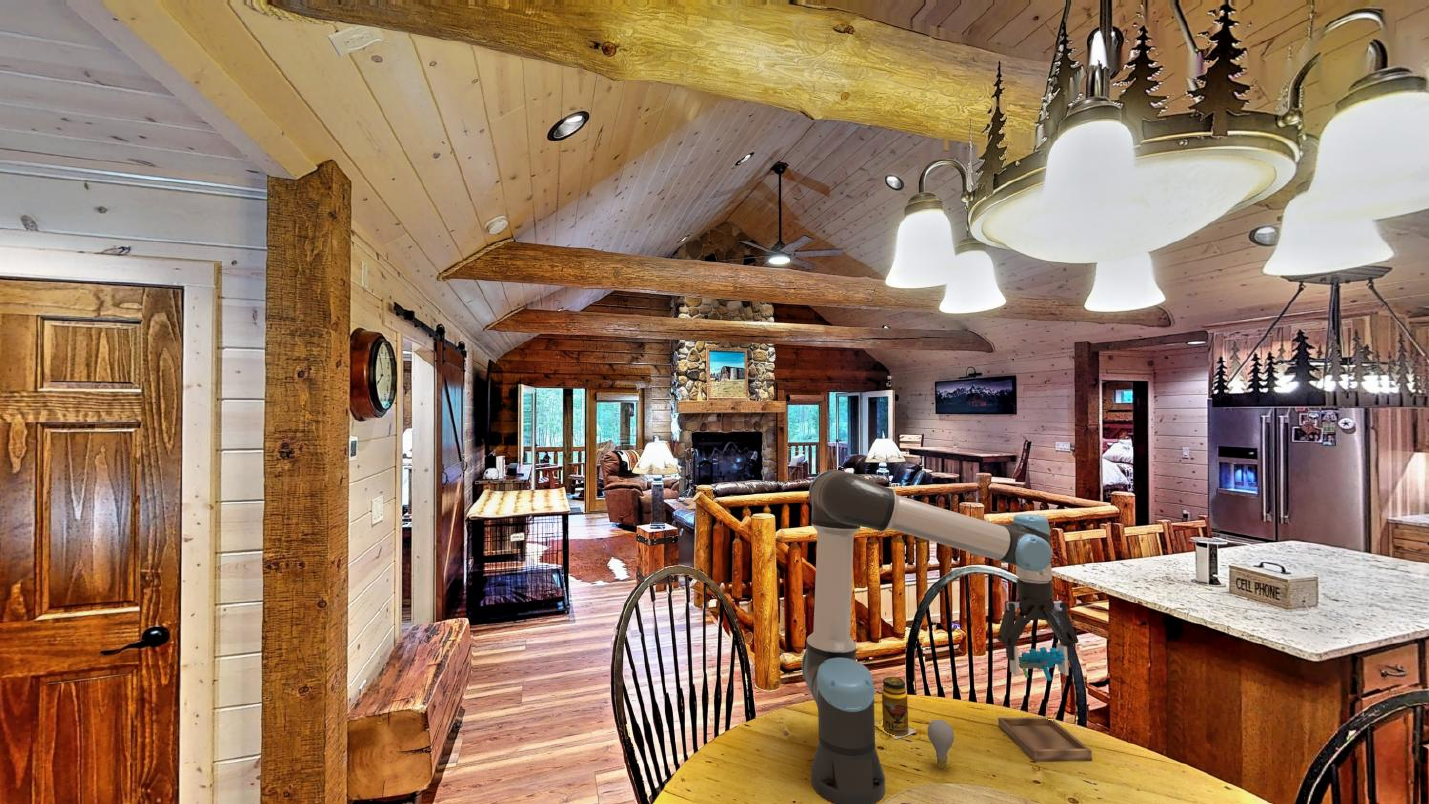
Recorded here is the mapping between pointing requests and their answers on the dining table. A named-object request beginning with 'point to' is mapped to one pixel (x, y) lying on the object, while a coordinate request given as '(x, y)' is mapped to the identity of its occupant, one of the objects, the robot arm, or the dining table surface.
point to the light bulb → (941, 740)
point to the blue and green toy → (1040, 660)
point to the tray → (1044, 739)
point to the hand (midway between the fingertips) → (1039, 673)
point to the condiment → (895, 708)
